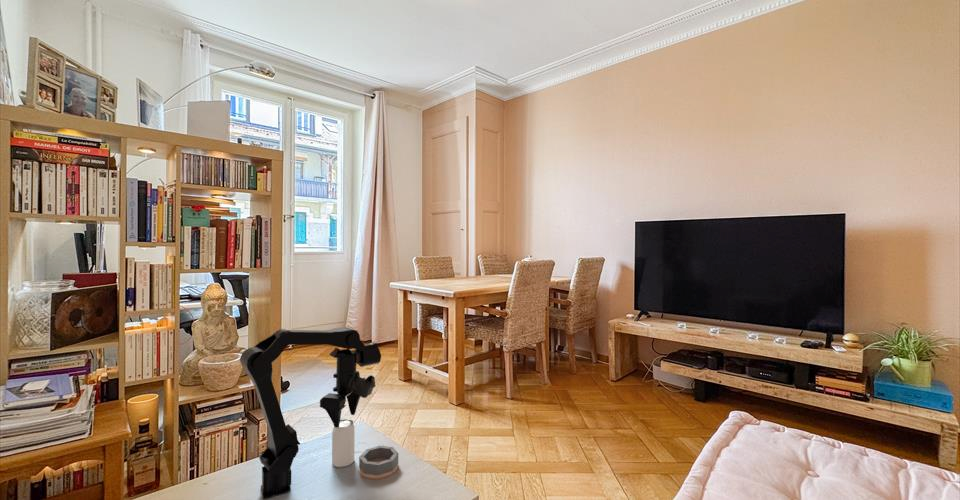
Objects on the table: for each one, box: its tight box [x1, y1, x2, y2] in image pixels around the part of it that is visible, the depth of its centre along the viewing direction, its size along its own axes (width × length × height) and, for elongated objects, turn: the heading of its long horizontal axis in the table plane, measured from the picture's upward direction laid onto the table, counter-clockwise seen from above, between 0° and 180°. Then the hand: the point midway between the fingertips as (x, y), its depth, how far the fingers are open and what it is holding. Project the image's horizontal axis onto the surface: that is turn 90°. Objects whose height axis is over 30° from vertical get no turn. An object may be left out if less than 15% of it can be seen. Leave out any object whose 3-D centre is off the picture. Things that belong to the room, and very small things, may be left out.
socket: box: [358, 445, 399, 480], centre depth 119 cm, size 11×11×4 cm
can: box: [331, 418, 356, 469], centre depth 122 cm, size 6×6×12 cm
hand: (345, 420), depth 122 cm, fingers open, 9 cm apart
